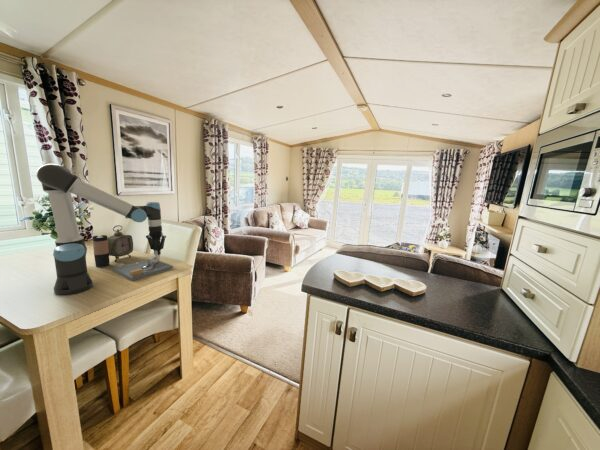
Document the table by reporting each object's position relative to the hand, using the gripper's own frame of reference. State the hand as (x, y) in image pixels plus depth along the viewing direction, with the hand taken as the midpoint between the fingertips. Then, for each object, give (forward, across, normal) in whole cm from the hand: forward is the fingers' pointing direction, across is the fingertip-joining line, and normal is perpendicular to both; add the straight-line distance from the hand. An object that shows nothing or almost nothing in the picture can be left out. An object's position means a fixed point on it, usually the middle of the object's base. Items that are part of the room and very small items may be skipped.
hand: (157, 259), depth 162 cm
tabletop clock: (+5, +33, -8) cm, 34 cm away
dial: (+3, +1, +5) cm, 6 cm away
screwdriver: (+3, 0, +17) cm, 17 cm away
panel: (+5, +5, +8) cm, 10 cm away
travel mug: (+5, +35, +5) cm, 35 cm away
